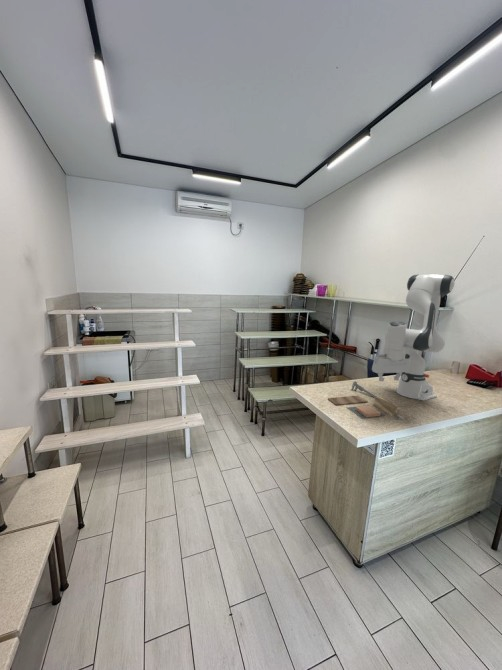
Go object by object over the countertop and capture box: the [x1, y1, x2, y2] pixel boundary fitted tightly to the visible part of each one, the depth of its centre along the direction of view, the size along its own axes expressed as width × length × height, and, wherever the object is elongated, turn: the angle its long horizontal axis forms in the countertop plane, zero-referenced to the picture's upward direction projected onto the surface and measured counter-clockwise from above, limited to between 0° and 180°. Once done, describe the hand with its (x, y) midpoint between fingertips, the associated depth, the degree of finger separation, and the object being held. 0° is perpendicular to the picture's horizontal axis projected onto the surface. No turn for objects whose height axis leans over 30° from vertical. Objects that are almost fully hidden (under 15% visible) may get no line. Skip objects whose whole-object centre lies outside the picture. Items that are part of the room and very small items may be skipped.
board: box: [327, 395, 369, 407], centre depth 141 cm, size 20×8×1 cm, turn 106°
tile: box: [355, 405, 382, 418], centre depth 128 cm, size 8×2×8 cm
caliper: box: [351, 380, 379, 399], centre depth 151 cm, size 20×1×6 cm, turn 33°
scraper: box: [373, 396, 405, 420], centre depth 130 cm, size 5×16×5 cm, turn 16°
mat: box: [346, 405, 386, 420], centre depth 129 cm, size 14×12×1 cm
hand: (388, 380), depth 130 cm, fingers open, 8 cm apart
